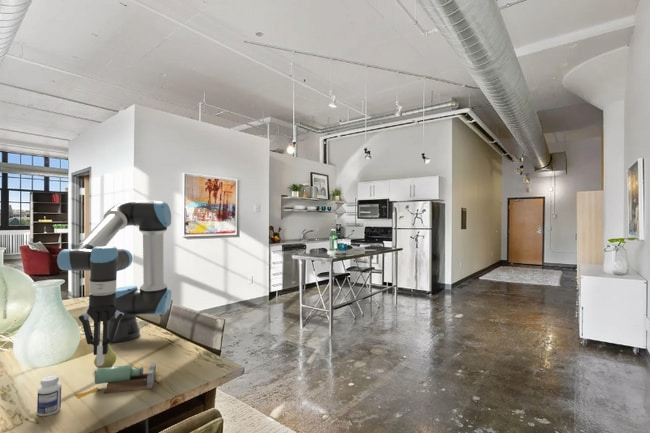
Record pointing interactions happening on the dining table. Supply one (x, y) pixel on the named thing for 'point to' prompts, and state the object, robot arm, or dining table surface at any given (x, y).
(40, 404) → the pill bottle
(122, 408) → the dining table surface
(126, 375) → the bottle
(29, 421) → the dining table surface
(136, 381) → the cradle
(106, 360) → the fruit
